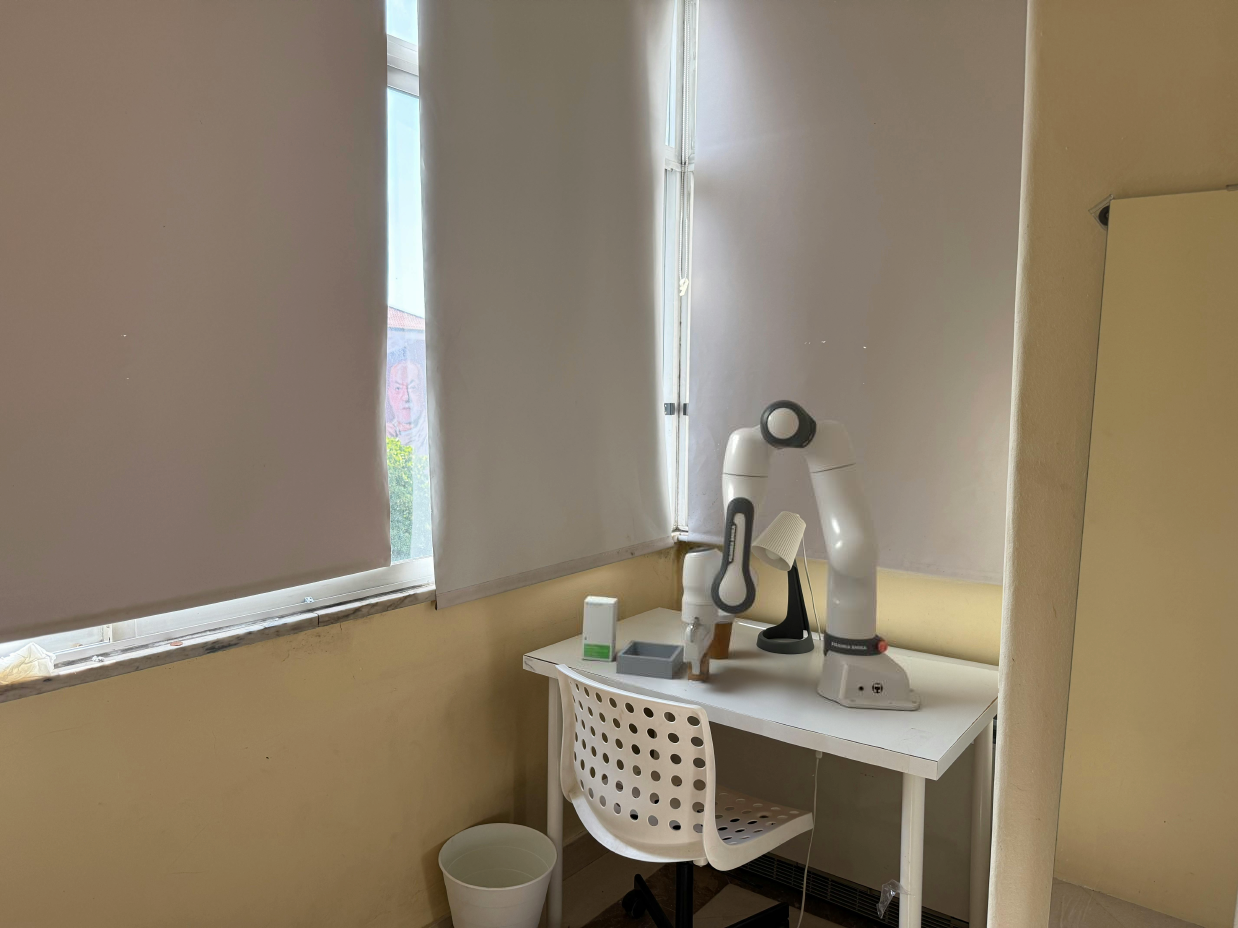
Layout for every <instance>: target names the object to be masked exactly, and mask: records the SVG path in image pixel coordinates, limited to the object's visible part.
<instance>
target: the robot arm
mask: <svg viewBox="0 0 1238 928" xmlns="http://www.w3.org/2000/svg"><path fill="white" fill-rule="evenodd" d="M782 449H783V450H784V449H800V450H801V451H802V453H803V455H804V456H805V460H806V463H807V467H808V471H809V476H810V481H811V484H812V485H811V486H812V489H813V493H814V497H815V501H816V502H815V503H816V505H817V506H816V507H817V510H818V515H819V520H820V525H821V529H822V535H823V538H824V544H825V548H826V552H827V581H826V582H827V584H826V588H827V589H826V610H825V611H826V612H825V615H826V616H825V629H824V631H823V636H822V653H823V662H822V668H821V672H820V677H819V681H818V684H817V686H816V692H817V693H818V694H819V695H820V696H822V697H825V698H826V699H829V700H831V701H834V702H837V703H838V704H840V705H842V706H843V707H847V708H860V709H861V708H862V709H876V710H877V709H880V710H897V711H898V710H902V711H915V710H918V709H919V707H920V706H921V699H920V698H921V697H920V695H919V694H918V692H917V691H916V690H915V689H913V688H911V685H910V684H911V683H910V679H909V676H908V673H907V672H906V670H905V669H904V667H902V666H901V665H900V664H899V663H898V662H897V661H896V660H894V658H892V657H891V656H889V655H888V654H887V653H886V651H888V649H889V647H888V644H887V642H886V641H885V639H884V638H883V635H880V636H879V635H878V634H877V633H876V631H877V604H878V600H877V599H878V598H877V597H878V596H877V595H878V594H877V593H878V592H877V591H878V590H877V586H878V585H877V573H878V572H877V571H878V569H877V567H878V566H879V563H880V559H881V551H880V546H879V542H878V538H877V534H876V530H875V526H874V522H873V518H872V514H871V511H870V506H869V503H868V502H869V501H868V499H867V494H866V490H865V486H864V483H863V478H862V473H861V469H860V466H859V462H858V457H857V453H856V450H855V448H854V445H853V443H852V440H851V437H850V435H849V432H848V431H847V429H846V427H845V425H843V423H842V422H839V421H837V420H832V419H824V420H820V421H817V420H815V419H814V418H813V417H812V416H811V415H810V414H809V413H808V412H807V411H806V409H805V408H804V407H803V406H802V405H801V404H800V403H797V402H795V401H793V400H789V399H781V400H780V399H779V400H776V401H773V402H772V403H770V404H769V405H768V406H766V407H765V409H764V410H763V412H762V414H761V416H760V420H759V425H757V426H755V427H743V428H739V429H736V430H735V431H733V432H732V433H731V434H730V436H729V438H728V441H727V445H726V449H725V453H724V459H723V465H722V475H721V487H722V488H721V490H722V491H721V493H722V503H723V511H724V513H723V514H724V523H725V526H724V536H723V537H724V538H723V547H722V552H721V551H720V550H718V548H716V547H715V546H699V547H695V548H692V549H691V550H689V551H688V552H687V553H686V555H685V556H684V560H683V567H682V580H681V581H682V587H683V596H682V599H681V620H682V621H683V623H686V630H685V634H684V645H683V646H684V661H685V662H688V661H690V662H691V663H692V673H693V674H699V673H700V671H701V666H700V660H701V658H702V656H703V655H704V653H705V652H707V648H708V647H709V645H710V644H711V642H712V641H713V637H714V630H715V623H717V622H718V608H719V609H720V610H722V611H724V612H726V613H729V614H734V615H740V614H744V613H745V612H747V611H748V610H749V609H751V607H752V606H753V605H754V603H755V601H756V597H757V596H756V595H757V590H758V587H759V586H758V585H759V576H758V573H757V571H756V570H755V568H754V567H753V566H751V565H750V564H751V557H752V556H751V554H752V542H753V534H754V529H755V526H756V523H757V521H758V517H759V515H760V514H761V511H762V509H763V507H764V506H765V505H764V504H765V502H766V498H767V495H768V491H769V485H770V473H771V463H772V458H773V455H774V454H775V452H776V451H778V450H782Z"/></svg>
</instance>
